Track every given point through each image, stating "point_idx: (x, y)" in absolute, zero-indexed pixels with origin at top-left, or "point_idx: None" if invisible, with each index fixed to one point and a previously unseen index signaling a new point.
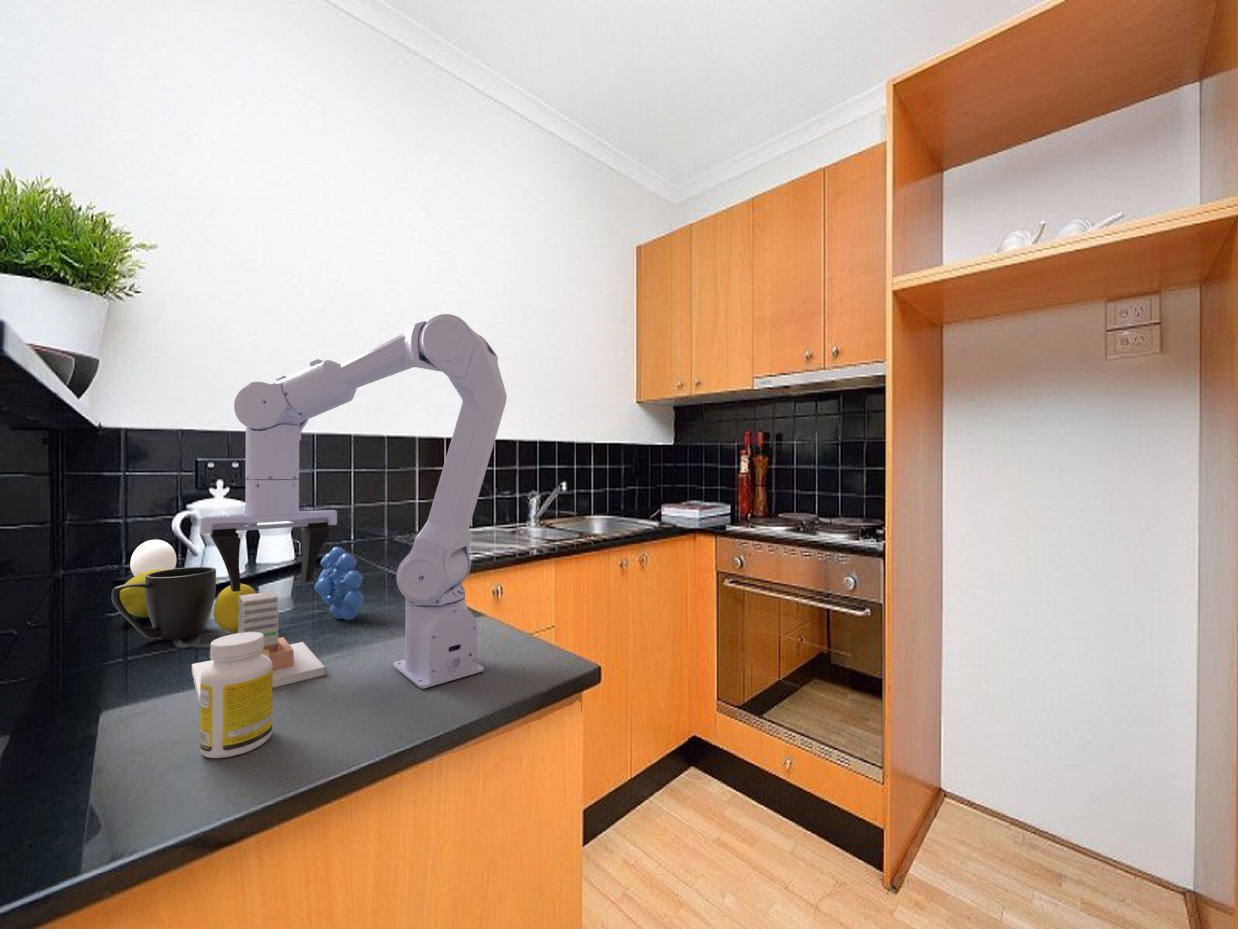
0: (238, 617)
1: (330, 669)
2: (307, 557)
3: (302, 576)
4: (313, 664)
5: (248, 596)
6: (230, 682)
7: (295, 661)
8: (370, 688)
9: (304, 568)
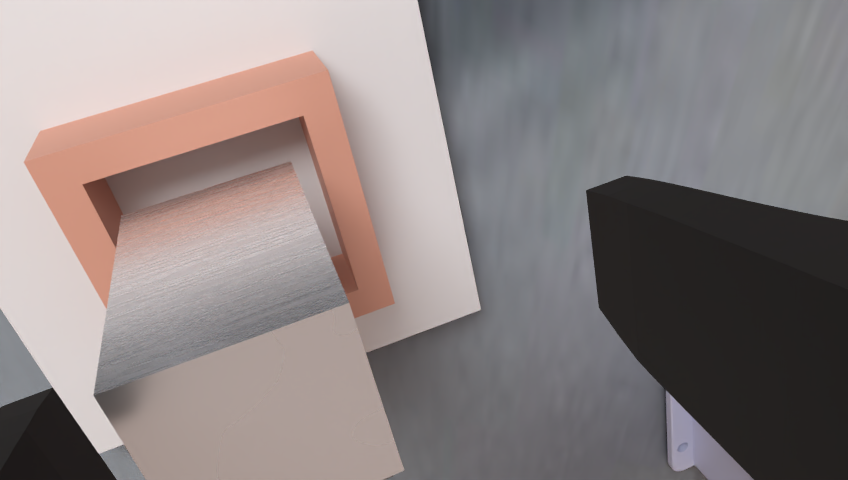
0: (110, 295)
1: (489, 243)
2: (769, 465)
3: (607, 231)
4: (445, 273)
5: (190, 429)
6: None
7: (379, 212)
8: (571, 422)
9: (668, 324)
